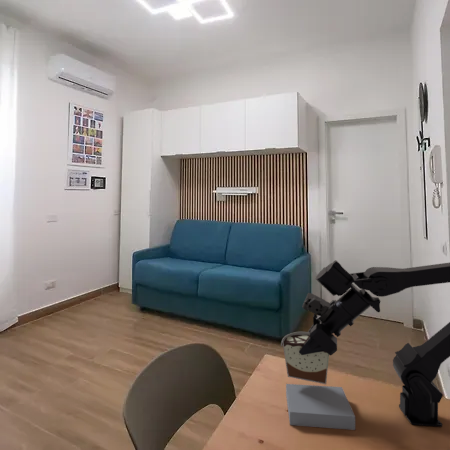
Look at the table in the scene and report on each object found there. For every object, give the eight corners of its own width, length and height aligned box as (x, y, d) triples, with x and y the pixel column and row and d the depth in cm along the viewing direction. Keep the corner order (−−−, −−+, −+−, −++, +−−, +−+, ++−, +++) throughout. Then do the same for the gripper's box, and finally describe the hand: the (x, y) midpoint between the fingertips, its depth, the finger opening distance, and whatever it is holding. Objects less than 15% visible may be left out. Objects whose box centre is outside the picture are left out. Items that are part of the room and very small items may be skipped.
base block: (341, 398, 76) (341, 387, 75) (355, 429, 65) (355, 416, 65) (286, 395, 77) (286, 383, 77) (289, 424, 66) (289, 412, 66)
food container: (334, 370, 77) (333, 334, 75) (332, 385, 71) (331, 346, 70) (287, 362, 82) (285, 328, 81) (282, 375, 76) (280, 338, 75)
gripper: (323, 276, 82) (285, 312, 87) (319, 294, 65) (271, 337, 69) (355, 306, 80) (313, 342, 84) (359, 333, 62) (307, 376, 67)
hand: (301, 347), depth 76 cm, fingers closed on food container, 6 cm apart
